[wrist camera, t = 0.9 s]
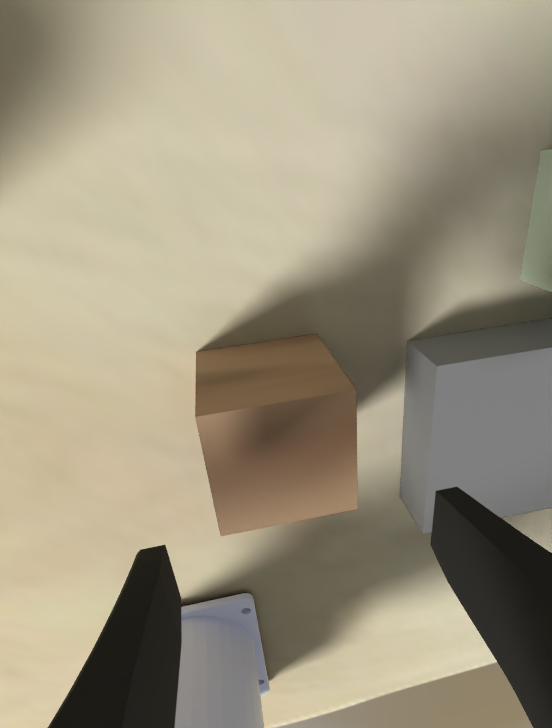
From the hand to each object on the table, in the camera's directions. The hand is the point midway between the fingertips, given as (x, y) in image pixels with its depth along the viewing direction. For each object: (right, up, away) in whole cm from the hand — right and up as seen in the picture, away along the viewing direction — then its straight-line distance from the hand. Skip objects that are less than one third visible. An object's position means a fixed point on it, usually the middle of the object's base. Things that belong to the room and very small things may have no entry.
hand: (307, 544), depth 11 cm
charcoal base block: (+10, +3, +10) cm, 14 cm away
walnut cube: (-1, +3, +7) cm, 8 cm away
